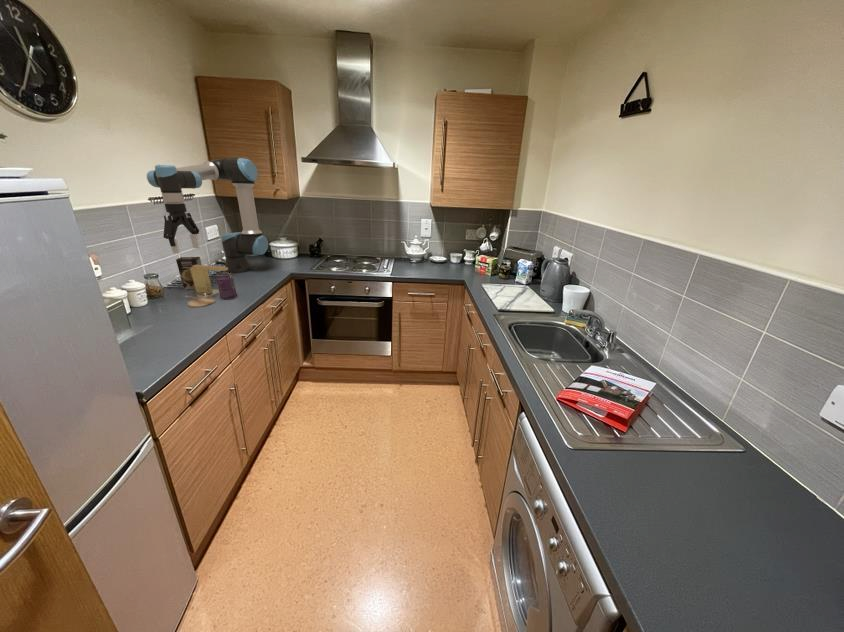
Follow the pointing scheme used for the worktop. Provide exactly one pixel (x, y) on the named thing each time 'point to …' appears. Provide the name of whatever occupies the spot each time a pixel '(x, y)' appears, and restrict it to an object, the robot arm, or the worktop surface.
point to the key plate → (203, 294)
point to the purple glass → (226, 285)
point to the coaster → (201, 302)
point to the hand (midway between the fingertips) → (187, 250)
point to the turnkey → (203, 277)
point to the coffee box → (187, 270)
